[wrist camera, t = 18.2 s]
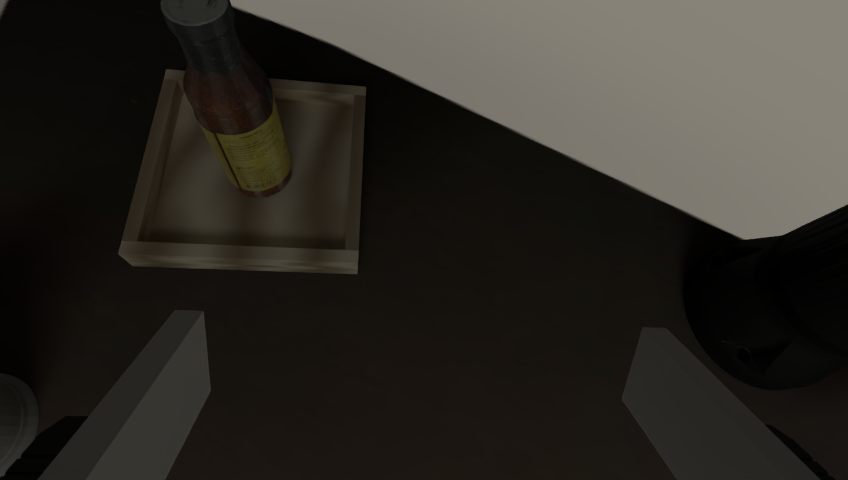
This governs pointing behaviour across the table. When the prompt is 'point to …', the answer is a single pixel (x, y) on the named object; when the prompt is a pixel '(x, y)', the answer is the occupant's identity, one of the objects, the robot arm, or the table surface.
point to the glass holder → (16, 419)
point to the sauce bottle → (230, 96)
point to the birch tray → (243, 215)
